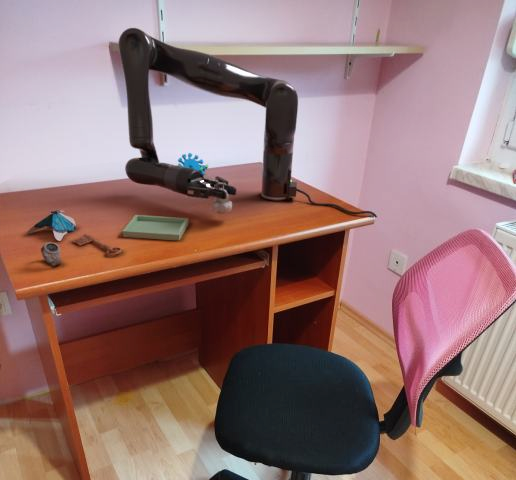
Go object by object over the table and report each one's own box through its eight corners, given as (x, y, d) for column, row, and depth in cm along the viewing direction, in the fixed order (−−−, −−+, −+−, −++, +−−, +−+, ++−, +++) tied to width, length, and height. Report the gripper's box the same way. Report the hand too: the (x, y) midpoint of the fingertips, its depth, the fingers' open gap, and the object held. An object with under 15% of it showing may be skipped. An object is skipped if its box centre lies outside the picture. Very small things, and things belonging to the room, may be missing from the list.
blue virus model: (180, 177, 165) (176, 150, 166) (176, 186, 170) (172, 160, 172) (210, 179, 169) (207, 153, 171) (206, 187, 175) (202, 162, 176)
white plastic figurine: (237, 213, 136) (236, 185, 131) (218, 220, 133) (217, 192, 128) (225, 207, 139) (224, 180, 134) (206, 213, 136) (205, 186, 131)
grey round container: (53, 269, 110) (48, 248, 107) (39, 260, 113) (34, 240, 110) (67, 264, 112) (63, 244, 109) (53, 256, 115) (48, 236, 112)
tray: (188, 223, 135) (188, 218, 134) (179, 240, 125) (179, 234, 124) (136, 220, 136) (135, 214, 135) (122, 236, 126) (122, 230, 125)
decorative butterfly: (84, 212, 128) (56, 215, 119) (84, 237, 130) (57, 241, 121) (53, 206, 131) (24, 208, 122) (54, 230, 133) (25, 234, 124)
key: (72, 242, 123) (104, 260, 114) (71, 238, 122) (103, 257, 114) (92, 234, 126) (124, 252, 118) (91, 231, 125) (124, 248, 117)
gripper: (165, 172, 132) (214, 185, 124) (199, 162, 142) (246, 173, 134) (167, 199, 136) (214, 214, 129) (199, 187, 146) (245, 200, 138)
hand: (230, 193), depth 131 cm, fingers closed on white plastic figurine, 3 cm apart
